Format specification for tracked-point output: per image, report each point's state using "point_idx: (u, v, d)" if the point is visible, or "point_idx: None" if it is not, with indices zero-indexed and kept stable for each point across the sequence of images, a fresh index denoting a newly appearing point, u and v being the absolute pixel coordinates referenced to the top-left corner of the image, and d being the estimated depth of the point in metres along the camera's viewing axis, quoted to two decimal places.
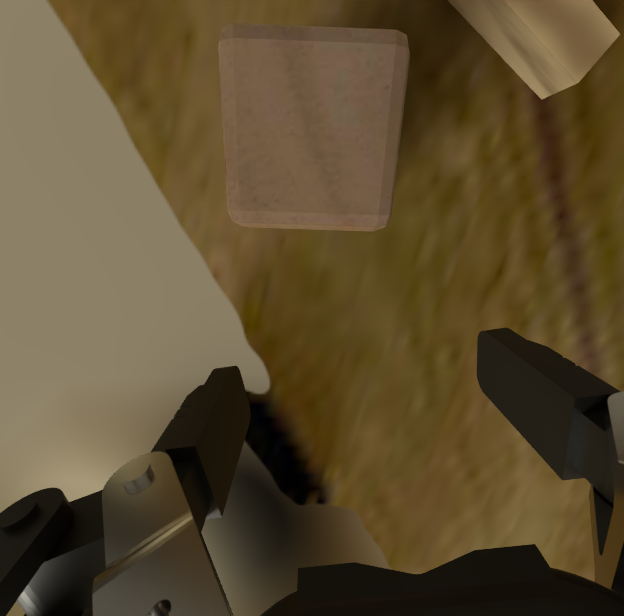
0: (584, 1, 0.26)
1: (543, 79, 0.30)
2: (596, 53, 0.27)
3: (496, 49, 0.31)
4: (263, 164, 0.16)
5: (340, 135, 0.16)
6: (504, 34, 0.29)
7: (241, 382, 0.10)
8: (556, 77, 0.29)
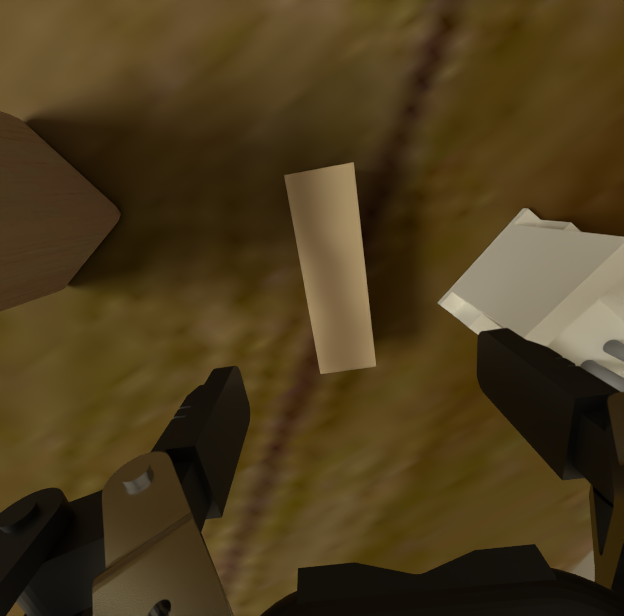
0: (364, 315, 0.22)
1: None
2: (349, 364, 0.24)
3: None
4: None
5: None
6: None
7: (241, 382, 0.10)
8: None
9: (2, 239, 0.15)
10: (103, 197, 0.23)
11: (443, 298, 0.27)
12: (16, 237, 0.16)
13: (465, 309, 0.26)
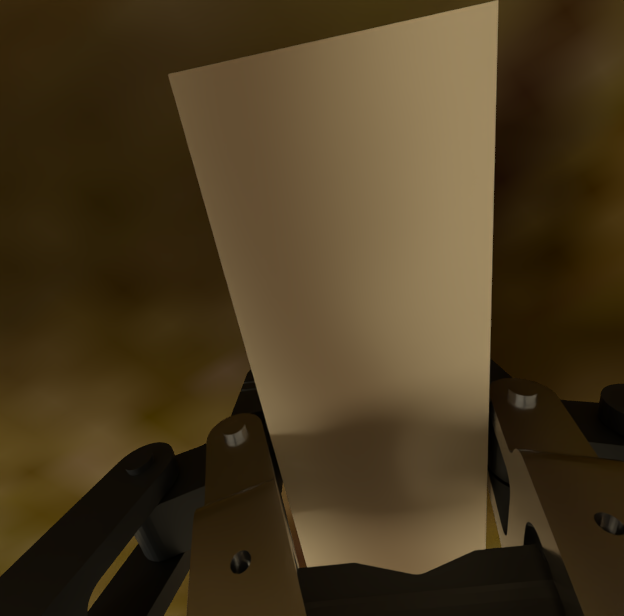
0: (466, 545, 0.07)
1: None
2: None
3: None
4: None
5: None
6: None
7: None
8: None
9: None
10: None
11: None
12: None
13: None
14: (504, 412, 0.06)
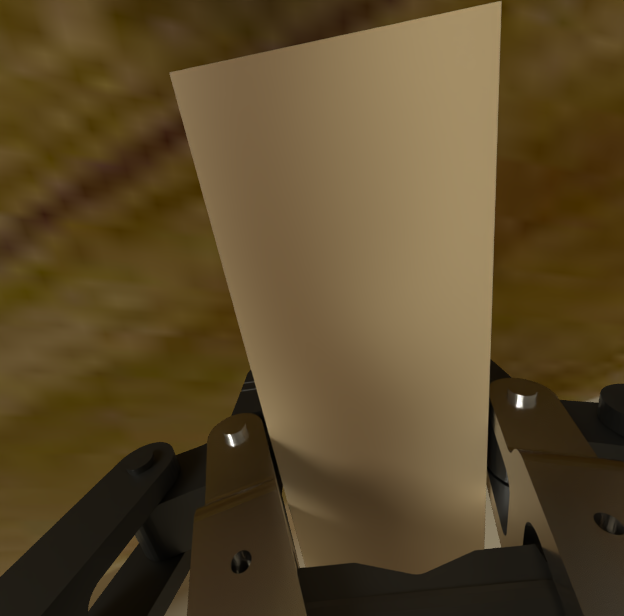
0: (465, 546, 0.07)
1: None
2: None
3: None
4: None
5: None
6: None
7: None
8: None
9: None
10: None
11: None
12: None
13: None
14: (503, 412, 0.06)
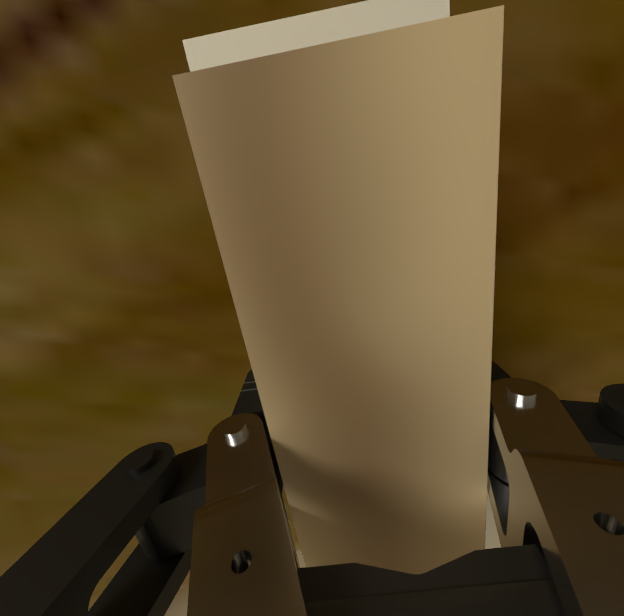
0: (466, 547, 0.07)
1: None
2: None
3: None
4: None
5: None
6: None
7: None
8: None
9: None
10: None
11: None
12: None
13: None
14: (503, 412, 0.06)
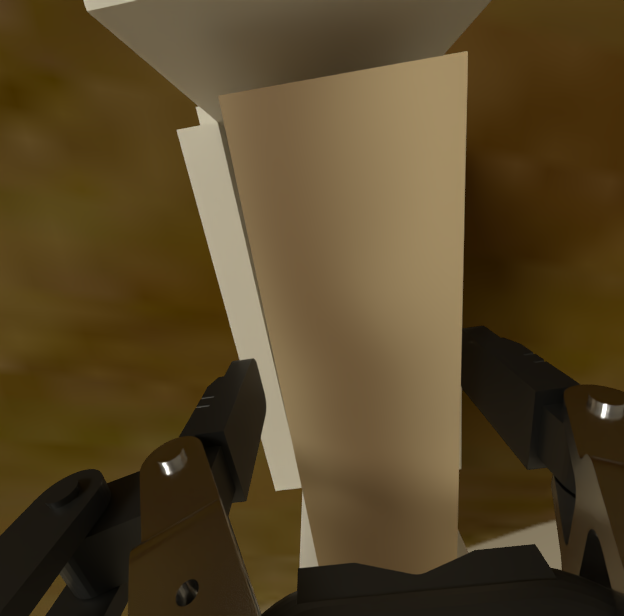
0: (442, 492, 0.09)
1: None
2: None
3: None
4: None
5: None
6: None
7: (258, 374, 0.10)
8: None
9: None
10: None
11: None
12: None
13: None
14: (579, 418, 0.05)
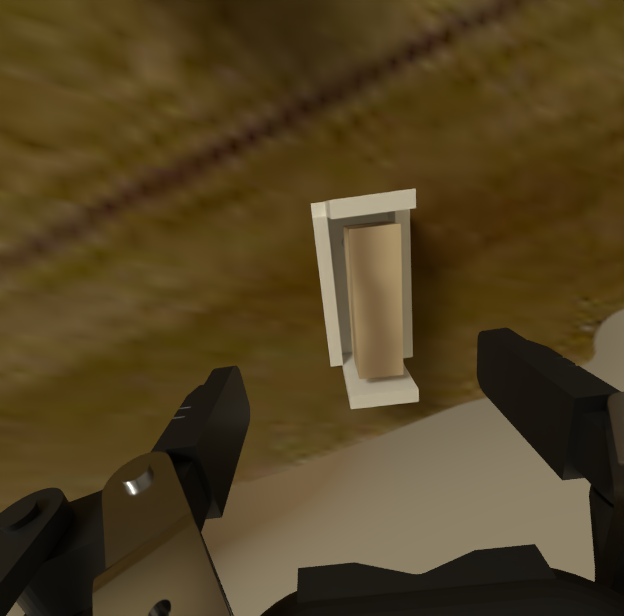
0: (397, 335, 0.29)
1: (354, 350, 0.33)
2: (382, 372, 0.30)
3: (348, 298, 0.32)
4: None
5: None
6: (350, 298, 0.30)
7: (241, 382, 0.10)
8: (356, 359, 0.31)
9: None
10: None
11: None
12: None
13: (321, 216, 0.33)
14: None
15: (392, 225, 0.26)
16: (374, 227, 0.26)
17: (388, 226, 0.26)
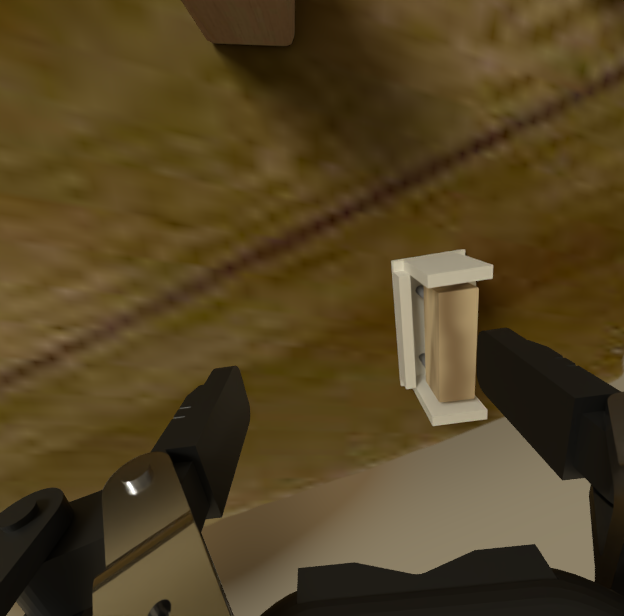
0: (471, 369, 0.37)
1: (431, 378, 0.41)
2: (457, 397, 0.39)
3: (425, 337, 0.41)
4: None
5: None
6: (431, 339, 0.39)
7: (241, 382, 0.10)
8: (435, 386, 0.40)
9: None
10: (294, 25, 0.32)
11: (396, 260, 0.42)
12: None
13: (401, 272, 0.41)
14: None
15: (472, 289, 0.34)
16: (458, 291, 0.34)
17: (469, 290, 0.34)
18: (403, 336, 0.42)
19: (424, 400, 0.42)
